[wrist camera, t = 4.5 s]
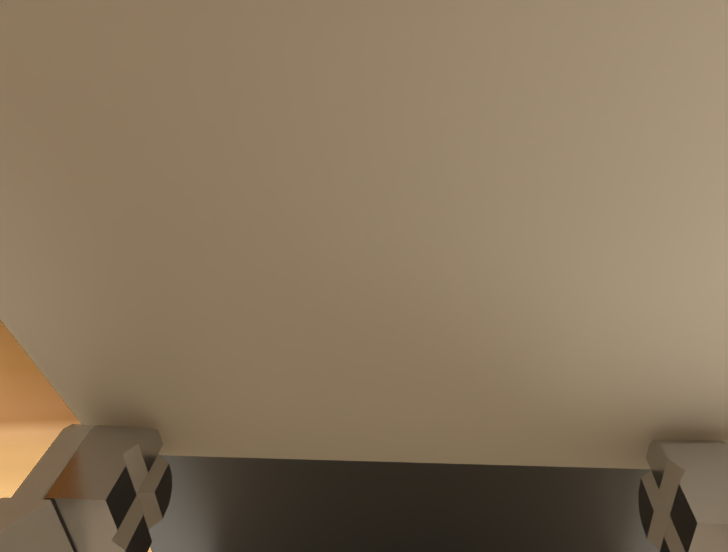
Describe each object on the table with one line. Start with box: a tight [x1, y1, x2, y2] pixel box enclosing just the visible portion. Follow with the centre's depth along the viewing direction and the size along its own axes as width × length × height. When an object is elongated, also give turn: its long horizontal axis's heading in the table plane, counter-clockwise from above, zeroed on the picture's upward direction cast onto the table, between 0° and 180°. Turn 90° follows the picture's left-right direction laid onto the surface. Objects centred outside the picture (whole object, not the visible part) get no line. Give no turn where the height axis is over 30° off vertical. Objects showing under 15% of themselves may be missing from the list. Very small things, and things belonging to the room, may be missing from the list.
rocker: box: [0, 0, 728, 469], centre depth 8 cm, size 10×11×2 cm
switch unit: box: [149, 455, 660, 552], centre depth 14 cm, size 24×14×7 cm, turn 3°
